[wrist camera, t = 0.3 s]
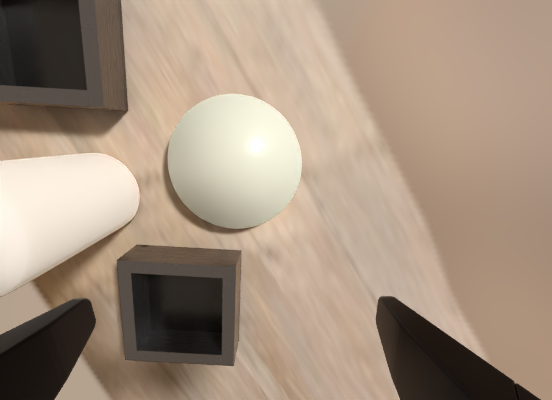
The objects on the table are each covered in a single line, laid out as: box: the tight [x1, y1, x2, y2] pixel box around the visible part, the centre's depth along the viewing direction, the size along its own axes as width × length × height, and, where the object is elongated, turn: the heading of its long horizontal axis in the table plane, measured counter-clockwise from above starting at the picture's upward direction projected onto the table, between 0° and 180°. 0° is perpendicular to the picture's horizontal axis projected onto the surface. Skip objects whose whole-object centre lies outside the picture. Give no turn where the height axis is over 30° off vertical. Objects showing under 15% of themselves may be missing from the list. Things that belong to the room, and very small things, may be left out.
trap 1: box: [0, 0, 128, 111], centre depth 19 cm, size 9×9×3 cm
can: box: [0, 153, 139, 297], centre depth 17 cm, size 6×6×12 cm
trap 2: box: [117, 245, 241, 366], centre depth 23 cm, size 9×9×3 cm
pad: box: [168, 94, 302, 229], centre depth 21 cm, size 10×10×2 cm
